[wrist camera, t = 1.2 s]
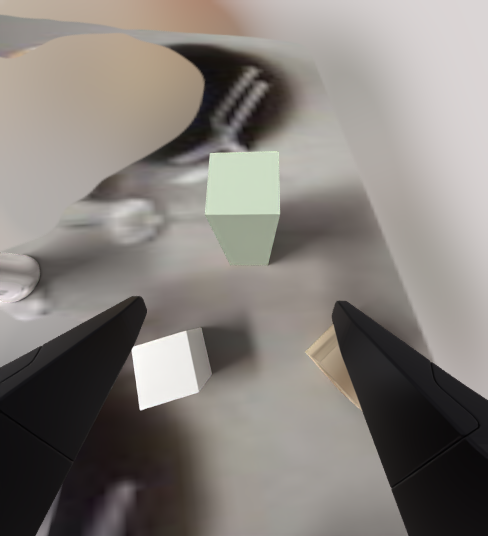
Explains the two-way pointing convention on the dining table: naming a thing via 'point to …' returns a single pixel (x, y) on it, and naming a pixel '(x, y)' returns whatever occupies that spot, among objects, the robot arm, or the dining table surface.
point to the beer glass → (17, 276)
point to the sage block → (244, 204)
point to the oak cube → (333, 363)
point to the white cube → (171, 367)
